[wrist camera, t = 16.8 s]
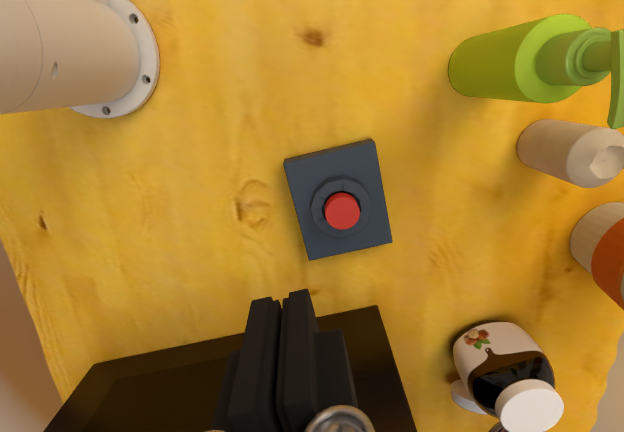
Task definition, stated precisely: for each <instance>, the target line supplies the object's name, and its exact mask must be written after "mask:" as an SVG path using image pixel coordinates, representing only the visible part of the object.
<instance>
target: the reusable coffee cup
mask: <svg viewBox="0 0 624 432" xmlns="http://www.w3.org/2000/svg"><path fill="white" fill-rule="evenodd" d="M570 250H571V253H572V255H573V257H574V259H575V260H576V261H577V262H578V263H579V264H581V265H582V266H583V267H584V268H585V269H586V270H587V271H588V272H589V273H590V274H591V275H592V276H593V279H594V280H595V282H596V284H597V285H598V286H599V287H600V288H601V289H602V290H603V291H604V292H605V293H606V294H607V295H608V296H609V297H610V298H611V299H613V300H614V301H615V302H616V303H617V304H618V305H619V306H620V307H621V308H622V309H623V310H624V203H622V202H611V203H607V204H603V205H600V206H598V207H596V208H594V209H592V210H591V211H589V212H588V213H587V214H586V215H584V216H583V217H582V218H581V219H580V221H579V222H578V223H577V225H576V226H575V228H574V229H573V232H572V235H571V239H570Z"/></svg>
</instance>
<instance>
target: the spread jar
mask: <svg viewBox="0 0 624 432" xmlns="http://www.w3.org/2000/svg"><path fill="white" fill-rule="evenodd" d="M453 357H454V362H455V366H456V368H457V371H458V373H459V376H460V378H461V380H456V381H454V382H453V383H452V384H451V398H452V400H453V401H454V402H455V403H456V404H458V405H459V406H461V407H463V408H465V409H467V410H469V411H472V412H475V413H480V414H486V415H491V416H493V417H496V418H499V420H500V422H501V423H502V425H503V427H504V428H505V429H506V430H508V431H509V432H544V431H546V430H548V429H550V428H551V427H553V426H554V425H555V424H556V423H557V422H558V421H559V419H560V418H561V416H562V414H563V410H564V403H563V401H562V399H561V397H560V396H559V395H558V393H557V392H556V391H555V377H554V372H553V369H552V367H551V364H550V362H549V360H548V358H547V357H546V355H545V354H544V352H543V351H542V350H541V348H540V347H539V346H538V345H537V344H536V342H535V341H534V340H533V339H532V338H531V337H530V336H529V335H528V334H527V333H526V332H525V331H524V330H523V329H522V328H521V327H519V326H517V325H516V324H514V323H511V322H507V321H500V320H487V321H481V322H478V323H475V324H473V325H471V326H469V327H468V328H466V329H465V330H464V331H463V332H462V333H461V334H460V335H459V336H458V338H457V339H456V341H455V343H454V347H453Z"/></svg>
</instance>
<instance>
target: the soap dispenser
mask: <svg viewBox="0 0 624 432" xmlns="http://www.w3.org/2000/svg"><path fill="white" fill-rule="evenodd" d="M610 72H611V101H610V109H609V114H608V119H607V123H608V125H609V126H610V128H611V129H617V128H621V127H624V29H621V30H617V31H614V32H611V31H610V30H608V29H605V28H599V27H596V28H592V27H591V26H590V25H589V24H588V23H587V22H586V21H585V20H584V19H582V18H580V17H578V16H576V15H571V14H559V15H554V16H550V17H547V18H543V19H539V20H535V21H531V22H528V23H524V24H520V25H516V26H513V27H509V28H505V29H501V30H497V31H494V32H490V33H486V34H482V35H479V36H475V37H472V38H469V39H467V40H465V41H464V42H462V43H461V44H460V45H459V46H458V47H457V48H456V50H455V51H454V53H453V54H452V56H451V59H450V62H449V67H448V75H449V80H450V82H451V84H452V86H453V87H454V89H455V90H456V91H458V92H459V93H461V94H463V95H465V96H471V97H482V98H493V99H504V100H515V101H526V102H536V103H554V102H558V101H561V100H563V99H566V98H568V97H569V96H571V95H572V94H574V93H575V92H576V91H578V90H579V89H580V88H581V87H582V86H588V85H592V84H595V83H597V82H599V81H601V80H602V79H604V78H605V77H606V76H607V75H608V74H609V73H610Z"/></svg>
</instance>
